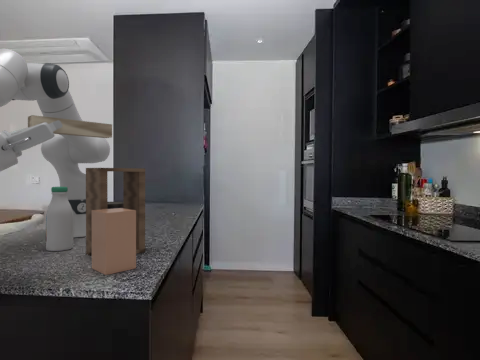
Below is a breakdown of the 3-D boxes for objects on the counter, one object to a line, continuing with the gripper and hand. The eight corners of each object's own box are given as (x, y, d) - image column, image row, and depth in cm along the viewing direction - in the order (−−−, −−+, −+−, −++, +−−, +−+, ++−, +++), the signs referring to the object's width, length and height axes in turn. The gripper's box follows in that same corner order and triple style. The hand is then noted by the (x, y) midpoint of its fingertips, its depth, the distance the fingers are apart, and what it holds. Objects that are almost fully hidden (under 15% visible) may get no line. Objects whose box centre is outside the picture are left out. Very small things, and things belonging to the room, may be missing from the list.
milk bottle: (78, 247, 109) (78, 186, 109) (57, 252, 102) (56, 187, 102) (62, 245, 113) (62, 186, 112) (40, 250, 106) (40, 186, 105)
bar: (27, 131, 79) (27, 116, 79) (106, 138, 93) (106, 125, 93) (31, 130, 77) (31, 115, 77) (112, 137, 91) (112, 124, 91)
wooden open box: (86, 254, 101) (85, 167, 100) (129, 246, 111) (129, 168, 110) (100, 260, 94) (100, 167, 93) (145, 252, 104) (145, 168, 103)
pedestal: (91, 268, 86) (91, 210, 86) (121, 262, 92) (121, 208, 92) (105, 275, 81) (105, 213, 80) (136, 268, 86) (136, 210, 86)
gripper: (-1, 133, 65) (65, 106, 74) (-20, 139, 80) (37, 116, 88) (18, 161, 68) (79, 132, 76) (-4, 162, 82) (50, 138, 90)
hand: (56, 124), depth 82 cm, fingers closed on bar, 3 cm apart
